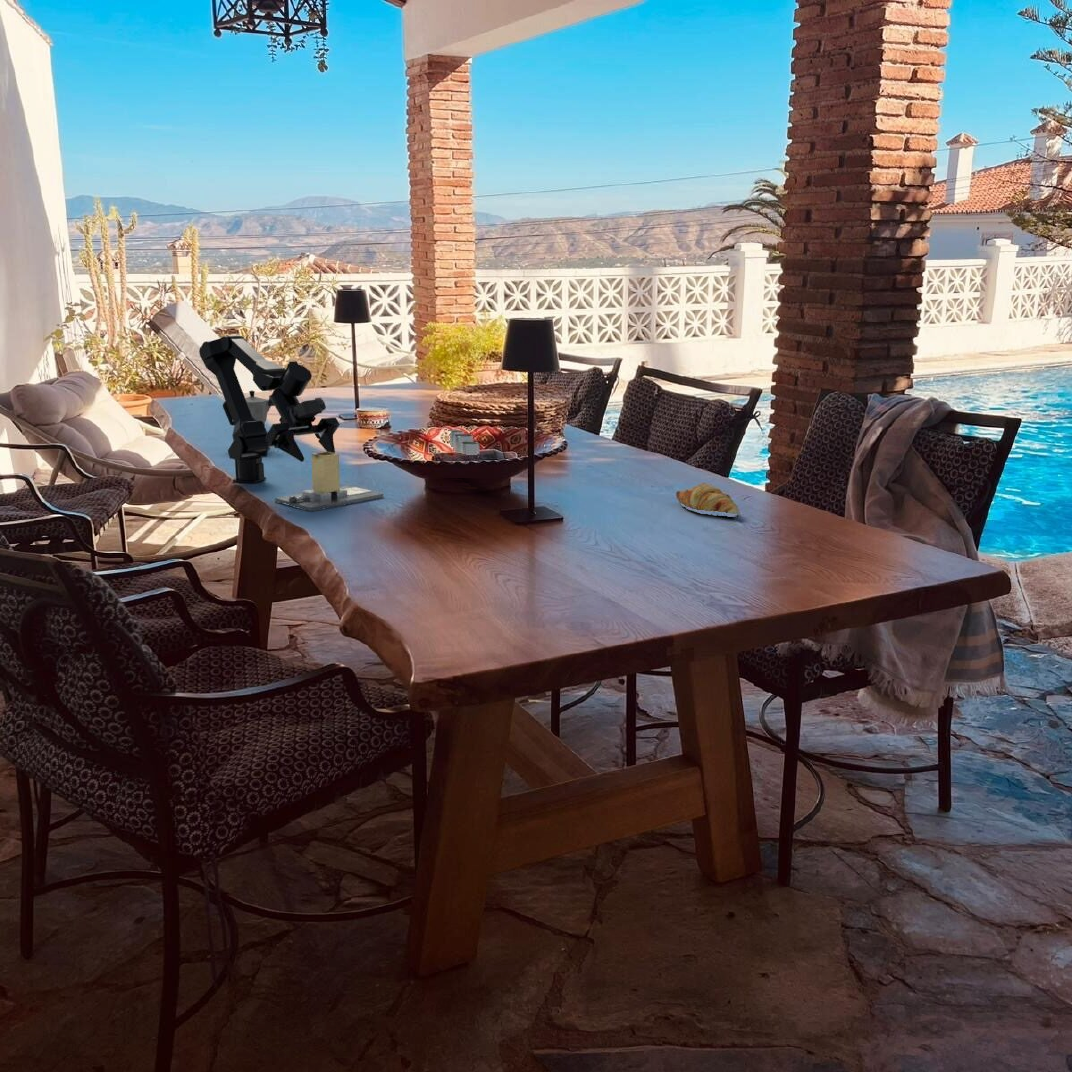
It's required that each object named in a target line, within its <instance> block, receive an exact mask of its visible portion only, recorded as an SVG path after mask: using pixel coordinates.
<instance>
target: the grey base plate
mask: <svg viewBox="0 0 1072 1072" xmlns="http://www.w3.org/2000/svg"><path fill="white" fill-rule="evenodd" d="M383 498H384V493H383V492H378V491H374V490H369V489H367V488H362V487H357V486H351V485H348V484H347V485H342V486H340V491H334V492H329V493H322V492H318V491H314V490H313V489H305V490H302V492H301V493H296V494H291V495H285V496H280V497H279V496H278V497H275V498H274V502H275V503H277V502H279V503H278V504H280V503H286V504H289V505H292V506H295V507H299V508H302V509H305V510H304V511H306V510H309V511H308V512H310V511H311V512H315V511H314V510H316V511H320V510H319V509H321V510H324V509H323V508H327V509H330V508H329V507H332V508H335V507H334V506H337V507H340V506H339V505H342V506H345V505H344V504H348V505H351V504H350V503H353V504H358V503H362V502H369V501H372V500H374V501H375V500H378V499H383ZM295 507H294V508H295ZM299 508H298V509H299ZM302 509H301V510H302Z"/></svg>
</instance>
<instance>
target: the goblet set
mask: <svg viewBox="0 0 1072 1072" xmlns="http://www.w3.org/2000/svg"><path fill="white" fill-rule="evenodd" d="M445 430H447V429H445ZM448 431H451V433H450V445H451V447H454V450H455V452H456V453H462V454H466V455H477V454H479V455H480V443H479V442H477V441H474V436H473V434H471V433H464V432H463V430H459V429H456V428H455V429H454V430H448Z"/></svg>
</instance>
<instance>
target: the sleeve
mask: <svg viewBox="0 0 1072 1072" xmlns="http://www.w3.org/2000/svg"><path fill="white" fill-rule="evenodd" d="M311 473H312V475H311V477H312V490H314V491H318V492H322V493H329V492H334V491H340V487H341V486H340V485H341V483H340V482H341V481H340V454H339V453H336V452H335V453H332V452H327V451H320V452H316V453H315V452H314V453H311Z"/></svg>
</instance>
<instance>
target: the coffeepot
mask: <svg viewBox="0 0 1072 1072" xmlns="http://www.w3.org/2000/svg"><path fill="white" fill-rule="evenodd" d="M248 392H249V395H250V396H247V397H245V399H246V402H247V404H248V407H249V409H250V412H251V414H252V417H253V418H254V419H255V420H256V421H262V422H263V423H264V426H265V429H266V431H267V432H268V430H267V427H266V424H265V423H266V422H267V420H268V419H267V417H268V413H269V412H270V409H271V408H272V406H268V400H269V398H268V399H267V398H262V397H261V398H260V397H257V396H255V392H256V391H254V390H249V391H248ZM222 409H223V410H224V414H225V416H226V418H227V421H228V422H229V425H230V426H235V425H234V422H233V419H232V416H231V414H230V411H229V409H228V406H227V403H226V401H224V402H223V404H222ZM270 449H271V446H269V447H268V450H270Z"/></svg>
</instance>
